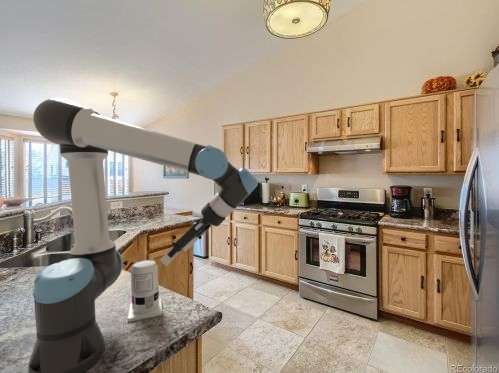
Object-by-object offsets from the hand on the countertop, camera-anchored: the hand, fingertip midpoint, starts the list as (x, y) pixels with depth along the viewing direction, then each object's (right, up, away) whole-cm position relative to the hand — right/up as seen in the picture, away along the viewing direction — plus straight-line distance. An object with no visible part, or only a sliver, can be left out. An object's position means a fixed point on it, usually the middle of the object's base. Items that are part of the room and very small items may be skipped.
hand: (174, 255), depth 81 cm
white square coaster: (-10, -19, +2) cm, 22 cm away
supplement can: (-10, -18, +2) cm, 21 cm away
